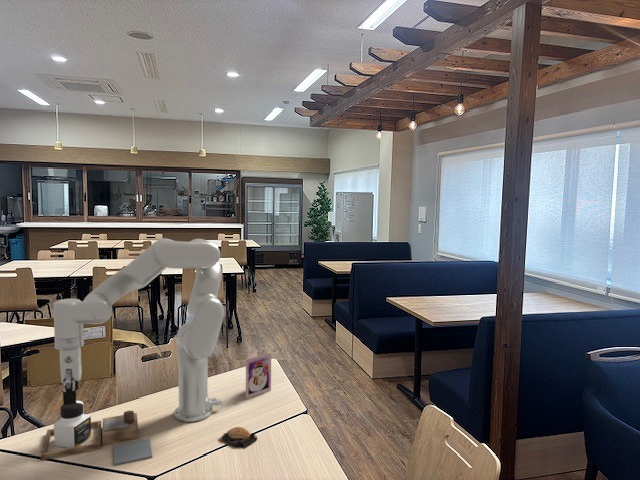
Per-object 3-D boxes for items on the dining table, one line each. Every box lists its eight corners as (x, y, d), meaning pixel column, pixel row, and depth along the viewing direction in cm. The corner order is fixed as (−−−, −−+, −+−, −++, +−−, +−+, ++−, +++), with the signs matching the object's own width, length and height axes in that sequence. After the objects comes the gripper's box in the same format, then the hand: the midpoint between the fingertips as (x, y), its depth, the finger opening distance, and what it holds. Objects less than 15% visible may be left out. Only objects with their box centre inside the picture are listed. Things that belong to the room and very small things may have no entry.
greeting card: (247, 400, 165) (247, 360, 164) (236, 393, 171) (236, 354, 169) (272, 391, 173) (272, 353, 172) (261, 385, 179) (261, 348, 177)
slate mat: (149, 439, 138) (149, 438, 138) (152, 457, 129) (152, 455, 128) (113, 447, 133) (113, 445, 133) (114, 465, 124) (113, 463, 124)
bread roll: (215, 442, 138) (215, 431, 138) (233, 430, 145) (233, 419, 145) (243, 452, 133) (243, 441, 132) (260, 439, 140) (260, 428, 140)
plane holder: (136, 418, 150) (136, 401, 150) (139, 441, 137) (138, 422, 136) (47, 434, 140) (46, 415, 139) (40, 460, 126) (40, 440, 125)
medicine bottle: (75, 449, 132) (73, 410, 131) (54, 446, 133) (52, 407, 132) (92, 436, 139) (90, 399, 138) (71, 434, 140) (70, 396, 139)
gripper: (82, 348, 127) (83, 407, 128) (85, 331, 142) (86, 383, 144) (51, 352, 123) (53, 412, 125) (57, 334, 139) (59, 387, 141)
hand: (71, 397), depth 134 cm, fingers open, 9 cm apart
